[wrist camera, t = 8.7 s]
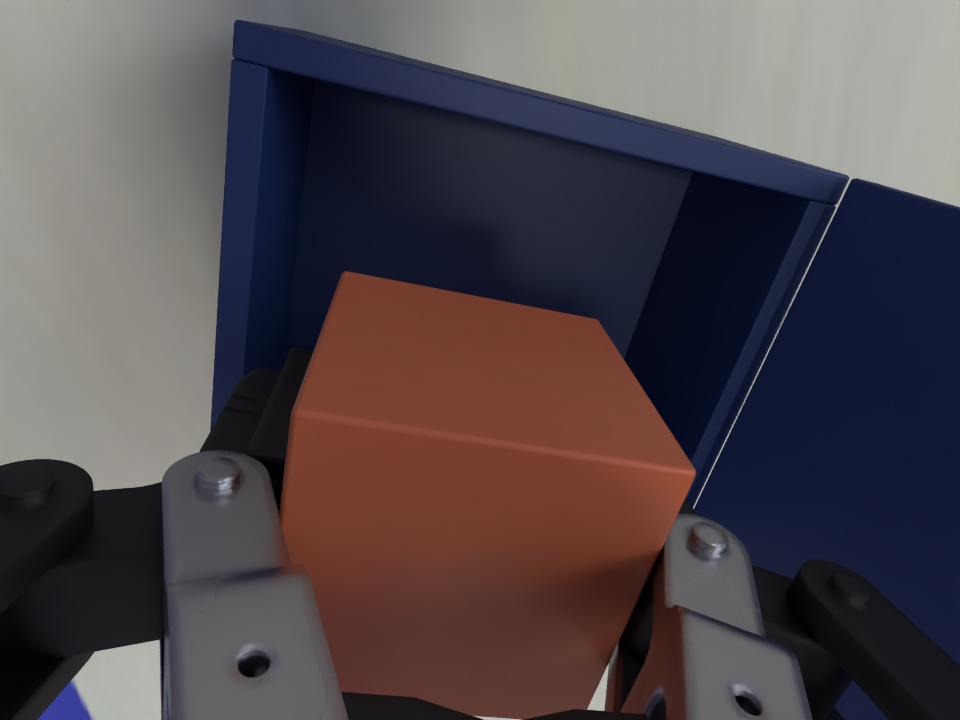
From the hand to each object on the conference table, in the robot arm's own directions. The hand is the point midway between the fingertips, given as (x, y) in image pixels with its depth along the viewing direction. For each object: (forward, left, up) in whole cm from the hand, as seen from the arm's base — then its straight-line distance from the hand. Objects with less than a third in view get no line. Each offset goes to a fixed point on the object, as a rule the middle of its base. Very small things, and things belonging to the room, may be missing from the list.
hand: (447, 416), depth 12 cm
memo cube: (0, 0, 0) cm, 0 cm away
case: (+2, +1, -13) cm, 14 cm away
